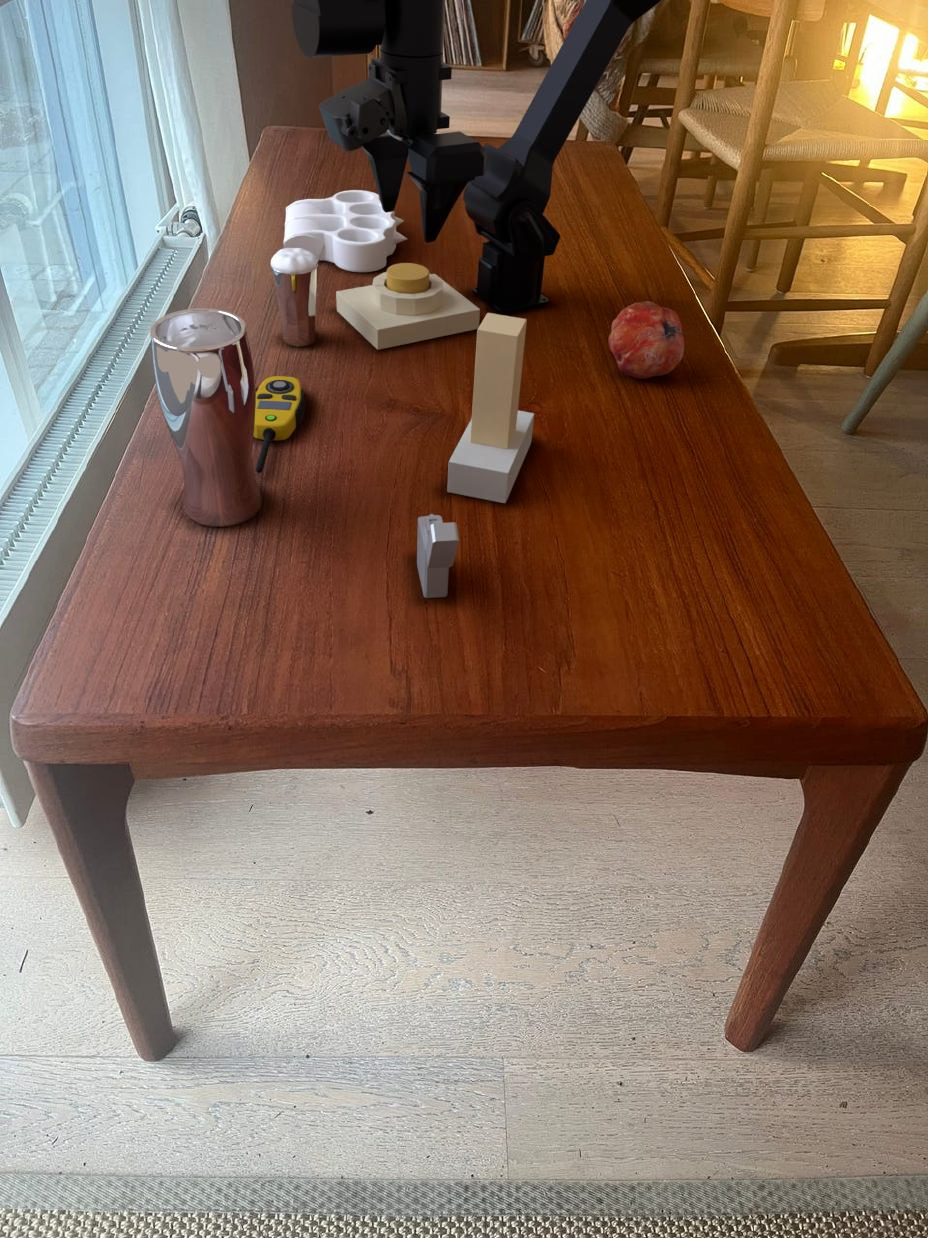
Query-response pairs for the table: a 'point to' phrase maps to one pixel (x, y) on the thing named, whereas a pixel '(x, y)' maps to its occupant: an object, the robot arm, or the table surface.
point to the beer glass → (209, 410)
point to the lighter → (435, 554)
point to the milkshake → (296, 294)
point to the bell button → (407, 278)
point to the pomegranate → (646, 340)
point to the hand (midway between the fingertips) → (408, 225)
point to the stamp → (494, 415)
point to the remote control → (277, 411)
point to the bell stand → (406, 312)
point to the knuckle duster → (344, 230)
